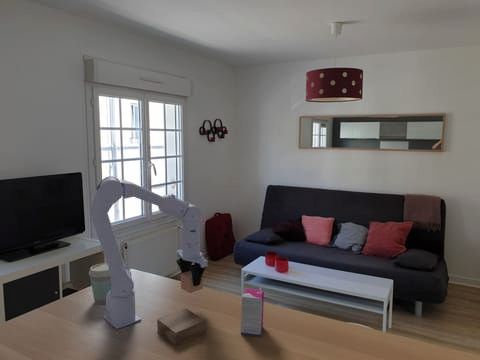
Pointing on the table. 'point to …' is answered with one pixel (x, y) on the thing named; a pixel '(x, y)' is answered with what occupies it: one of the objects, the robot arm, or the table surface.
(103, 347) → the table surface
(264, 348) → the table surface
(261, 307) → the supplement box
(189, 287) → the terracotta cube
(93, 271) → the coffee cup
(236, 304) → the table surface
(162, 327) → the walnut block
